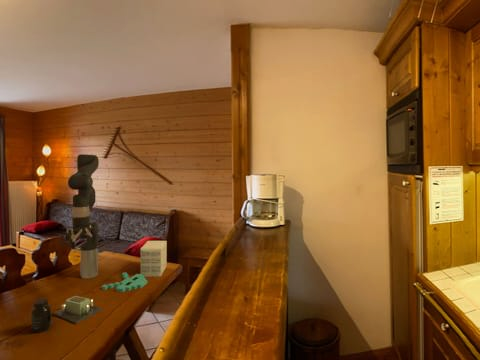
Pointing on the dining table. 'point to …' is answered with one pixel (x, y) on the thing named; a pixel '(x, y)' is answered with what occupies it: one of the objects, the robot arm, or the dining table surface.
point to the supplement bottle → (40, 316)
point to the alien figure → (128, 283)
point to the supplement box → (153, 258)
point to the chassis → (76, 317)
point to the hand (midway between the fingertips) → (81, 246)
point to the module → (77, 304)
